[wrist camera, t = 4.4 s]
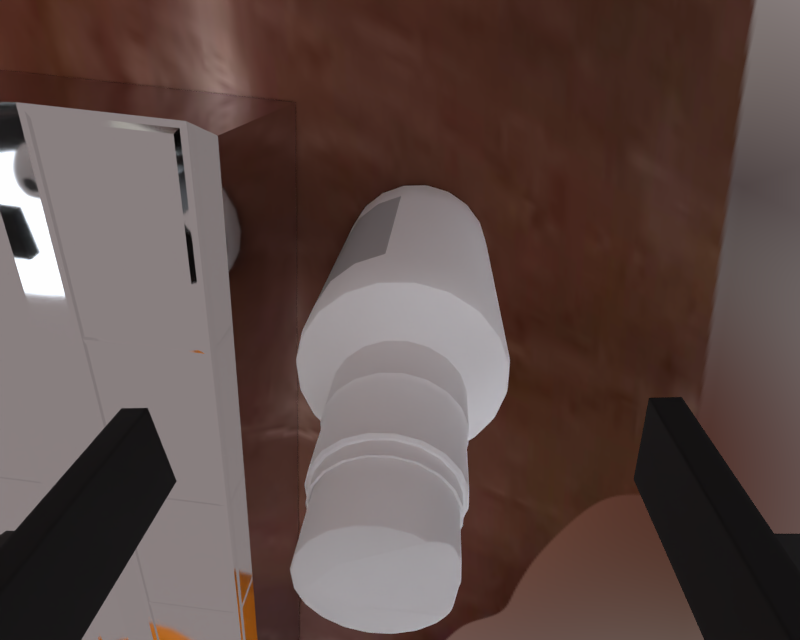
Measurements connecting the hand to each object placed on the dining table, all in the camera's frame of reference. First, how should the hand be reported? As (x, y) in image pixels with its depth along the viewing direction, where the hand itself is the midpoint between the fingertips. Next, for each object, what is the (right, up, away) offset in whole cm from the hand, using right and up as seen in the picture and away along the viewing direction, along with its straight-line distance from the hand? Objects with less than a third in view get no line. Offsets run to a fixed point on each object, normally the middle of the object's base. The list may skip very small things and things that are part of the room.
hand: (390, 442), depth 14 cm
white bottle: (+1, +7, +12) cm, 14 cm away
